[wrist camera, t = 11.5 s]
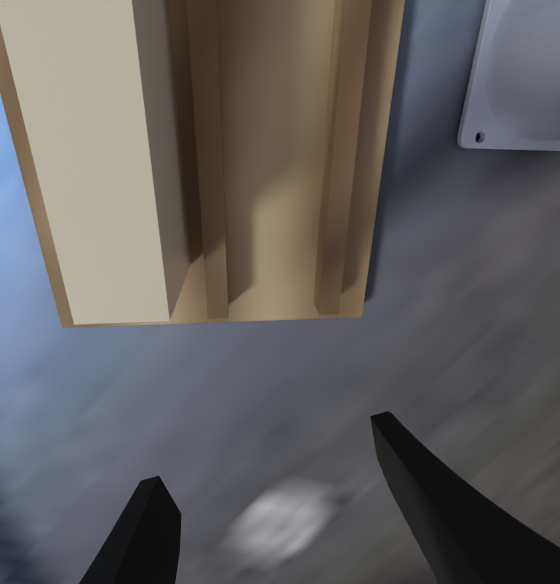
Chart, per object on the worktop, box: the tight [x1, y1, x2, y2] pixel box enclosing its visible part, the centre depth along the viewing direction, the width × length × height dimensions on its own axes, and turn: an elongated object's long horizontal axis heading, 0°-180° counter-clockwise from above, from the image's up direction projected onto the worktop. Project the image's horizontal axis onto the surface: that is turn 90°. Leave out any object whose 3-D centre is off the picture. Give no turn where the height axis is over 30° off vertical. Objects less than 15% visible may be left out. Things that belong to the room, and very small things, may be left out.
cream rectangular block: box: [0, 0, 191, 325], centre depth 11 cm, size 3×12×6 cm, turn 179°
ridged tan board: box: [0, 0, 405, 328], centre depth 14 cm, size 16×18×2 cm
